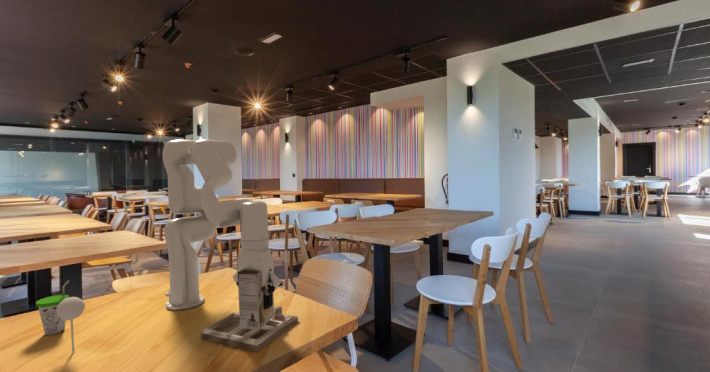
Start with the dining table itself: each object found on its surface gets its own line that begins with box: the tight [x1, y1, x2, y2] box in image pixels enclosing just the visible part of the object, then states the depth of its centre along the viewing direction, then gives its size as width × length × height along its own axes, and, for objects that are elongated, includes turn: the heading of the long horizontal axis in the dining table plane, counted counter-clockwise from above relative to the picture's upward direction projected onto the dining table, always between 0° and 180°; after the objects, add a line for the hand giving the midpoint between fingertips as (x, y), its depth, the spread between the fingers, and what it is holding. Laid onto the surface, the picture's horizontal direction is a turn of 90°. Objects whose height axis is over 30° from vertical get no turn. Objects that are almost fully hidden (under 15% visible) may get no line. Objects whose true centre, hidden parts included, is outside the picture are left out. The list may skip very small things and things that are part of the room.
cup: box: [35, 280, 70, 336], centre depth 105 cm, size 8×8×15 cm
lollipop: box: [56, 296, 86, 353], centre depth 93 cm, size 6×6×15 cm
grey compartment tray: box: [200, 305, 299, 353], centre depth 104 cm, size 20×20×5 cm
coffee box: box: [237, 270, 275, 330], centre depth 99 cm, size 9×6×16 cm
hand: (257, 305), depth 99 cm, fingers closed on coffee box, 7 cm apart
